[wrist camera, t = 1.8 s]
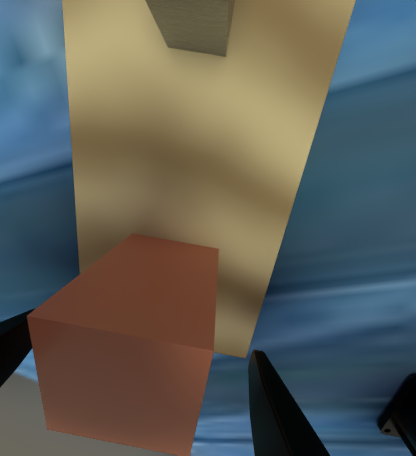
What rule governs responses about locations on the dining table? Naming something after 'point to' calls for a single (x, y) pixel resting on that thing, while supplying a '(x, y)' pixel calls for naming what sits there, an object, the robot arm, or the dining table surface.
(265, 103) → the brass board
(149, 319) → the reddish brown block
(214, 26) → the steel block
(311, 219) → the dining table surface
